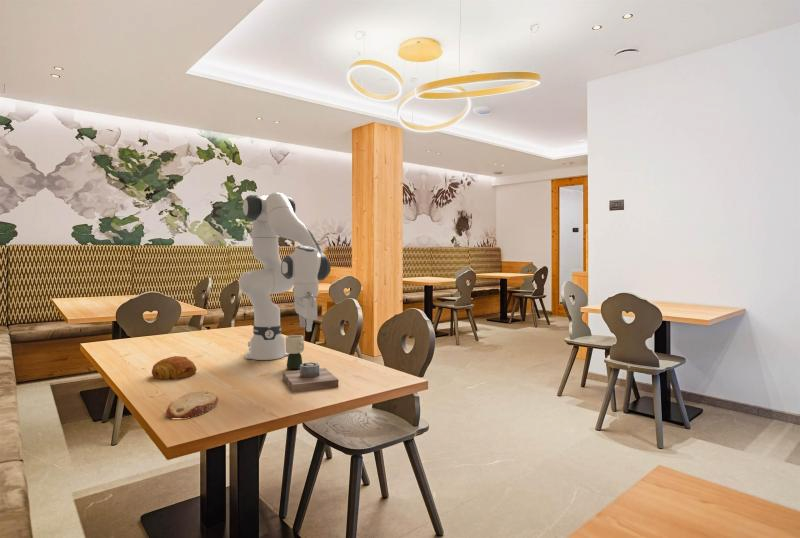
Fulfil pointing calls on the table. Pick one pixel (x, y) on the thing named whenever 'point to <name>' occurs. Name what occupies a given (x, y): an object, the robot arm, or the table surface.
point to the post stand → (310, 380)
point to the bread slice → (192, 404)
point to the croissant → (173, 368)
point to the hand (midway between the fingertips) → (305, 328)
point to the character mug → (294, 350)
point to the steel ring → (309, 370)
